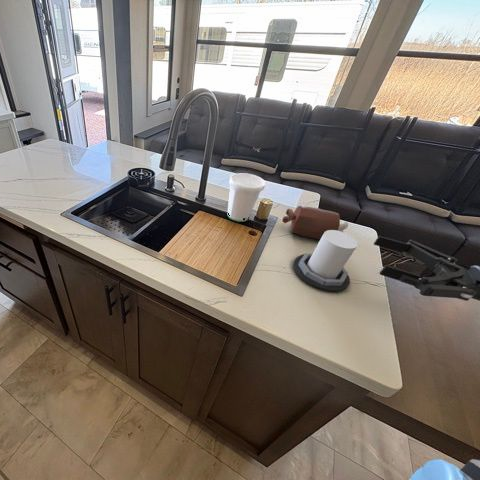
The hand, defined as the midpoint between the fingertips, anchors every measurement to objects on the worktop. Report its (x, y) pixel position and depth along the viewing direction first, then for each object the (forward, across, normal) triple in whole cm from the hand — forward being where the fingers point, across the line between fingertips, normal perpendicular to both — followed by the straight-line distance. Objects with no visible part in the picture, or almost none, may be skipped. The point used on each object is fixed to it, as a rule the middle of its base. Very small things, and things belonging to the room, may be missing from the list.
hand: (379, 253), depth 65 cm
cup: (+39, +18, -12) cm, 45 cm away
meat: (+14, +20, -12) cm, 28 cm away
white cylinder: (+9, 0, -11) cm, 14 cm away
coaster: (+9, 0, -12) cm, 15 cm away
